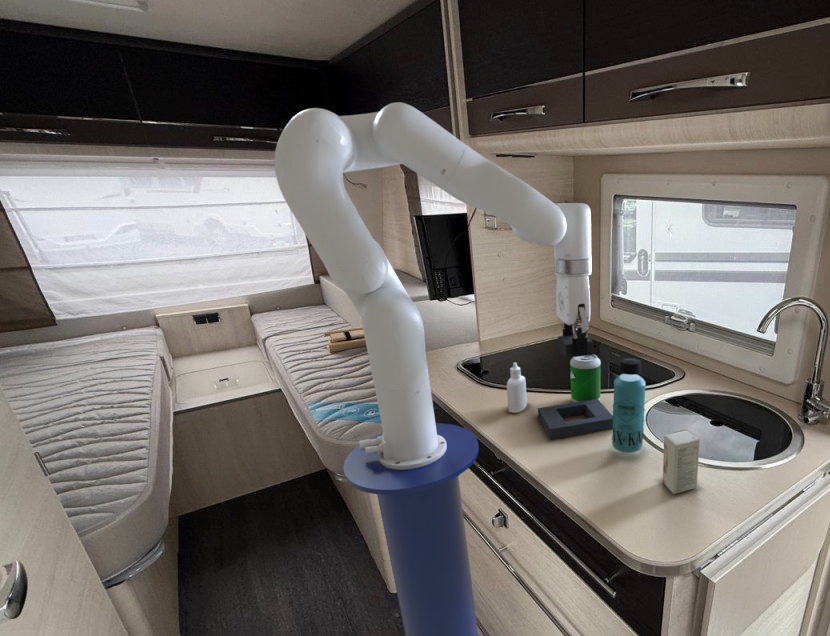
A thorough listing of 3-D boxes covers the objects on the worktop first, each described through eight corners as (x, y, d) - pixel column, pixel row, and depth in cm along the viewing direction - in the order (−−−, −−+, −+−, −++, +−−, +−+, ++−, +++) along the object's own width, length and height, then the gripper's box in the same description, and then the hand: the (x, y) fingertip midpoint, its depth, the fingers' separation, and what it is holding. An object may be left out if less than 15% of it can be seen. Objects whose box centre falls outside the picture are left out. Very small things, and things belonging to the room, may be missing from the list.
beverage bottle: (610, 444, 99) (611, 355, 92) (641, 443, 100) (644, 354, 93) (612, 460, 93) (614, 366, 86) (645, 459, 94) (650, 366, 86)
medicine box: (684, 475, 88) (688, 428, 85) (697, 488, 85) (702, 439, 81) (660, 481, 87) (663, 433, 83) (672, 495, 83) (676, 445, 79)
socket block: (550, 439, 101) (550, 429, 100) (538, 417, 111) (537, 407, 110) (614, 427, 106) (614, 418, 105) (597, 407, 116) (597, 398, 115)
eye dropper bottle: (503, 408, 115) (499, 363, 111) (523, 402, 118) (520, 358, 114) (512, 414, 112) (508, 368, 108) (532, 408, 115) (530, 363, 111)
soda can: (605, 398, 121) (605, 354, 116) (592, 410, 114) (592, 364, 110) (579, 393, 124) (578, 350, 119) (565, 404, 117) (564, 359, 113)
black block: (566, 358, 99) (565, 344, 98) (558, 349, 104) (557, 336, 103) (592, 354, 101) (592, 341, 100) (583, 346, 106) (583, 333, 105)
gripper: (544, 262, 102) (548, 341, 108) (568, 274, 87) (570, 365, 93) (577, 260, 104) (578, 337, 111) (605, 272, 89) (605, 360, 96)
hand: (574, 349), depth 102 cm, fingers closed on black block, 6 cm apart
